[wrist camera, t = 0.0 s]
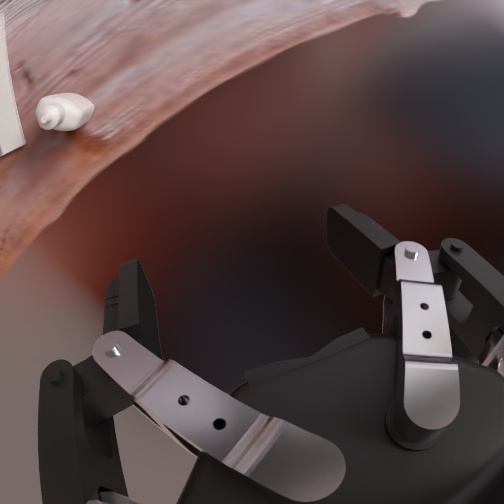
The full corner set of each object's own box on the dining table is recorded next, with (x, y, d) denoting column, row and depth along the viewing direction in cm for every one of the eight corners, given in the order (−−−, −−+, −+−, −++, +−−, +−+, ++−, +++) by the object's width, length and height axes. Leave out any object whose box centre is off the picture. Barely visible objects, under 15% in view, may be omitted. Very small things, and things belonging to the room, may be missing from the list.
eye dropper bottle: (75, 80, 27) (45, 80, 18) (99, 111, 31) (78, 125, 21) (50, 103, 28) (12, 115, 18) (73, 134, 31) (44, 157, 21)
